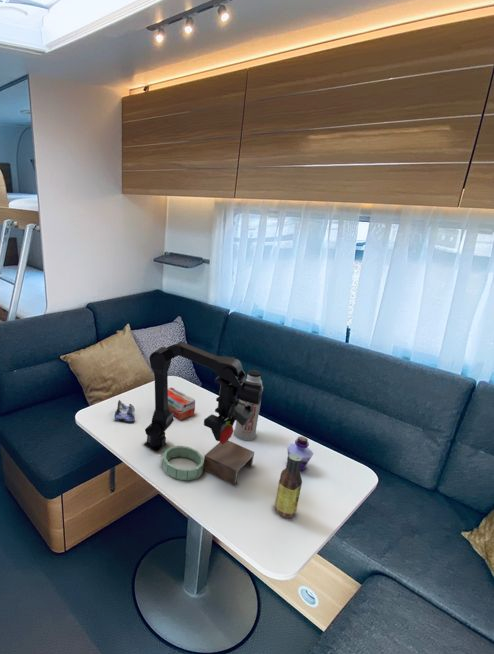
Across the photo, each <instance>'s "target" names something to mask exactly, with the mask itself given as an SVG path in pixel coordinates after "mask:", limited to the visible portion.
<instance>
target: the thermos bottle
mask: <svg viewBox="0 0 494 654" xmlns="http://www.w3.org/2000/svg"><path fill="white" fill-rule="evenodd" d="M246 376H247V380H246V381H249V382H254V383H260V384H262V391H264V385H263V380H262V379H261V376H262V372H260V371H259V370H255V369H249V370H247V374H246ZM239 402H241V403H244V404H245V406H247V405H249V404H250V405H251V406H253V416H252V417H251V418H250V420H249V421H248V422H247V423H246V424H245V425H241V424H239V422H237V421H236V420H235V427H234V435H235V437H237V438H238V439H241V440H244V441H252V440H254V439H255V438H256V432H257V427H258V420H259V416H260V409H261V403H262V400H261V401H260V403H259V405H257V404H253V403H249V402H246V401H242V400H241V399H239Z"/></svg>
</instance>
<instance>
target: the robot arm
mask: <svg viewBox="0 0 494 654" xmlns="http://www.w3.org/2000/svg"><path fill="white" fill-rule="evenodd" d="M178 356H179V357H182V358H183V359H187V360H189V361H191V362H194V363H197V364H199V365H201V366H203V367H206V368H207V369H210V370H212V371H213V372H214V373H215V374H216V378H215V379H214V381H213V382H214V383H216V384H220V386H219V391H218V392H219V394H218V397H216V399H215V401H216V402H218V403H217V407H216V408H215V409H214V413H217V414H218V416H217V415H215V414H209V415H208V416H207V417H205V418H204V419H203V426H204V427H207V428H208V429H210V430H211V432H212V434H213V436H214V439H215V441H216V442H220V441H219V440H220V437H221V433H222V431H223V430H224V429H225V428H227V427H226V422H229V424H231V425H232V426H233V427H234V425H235V423H236V421H237V422H239V424H241V425H245V424H246V423H247V422H248V421H249V420H250V418H251V417H252V416H253V406H251V405H250V404H249V405H247V406H245V404H244V403H241V402H239V400H240V399H241V400H242V401H246V402H249V403H253V404H257V405H259V403H260V401H261V402H262V397H263V391H264V390H263V391H262V386H263V383H262V384H260V383H254V382H249V381H246V380H247V374H246V373H245V371H244V369H243V364H242V363H241V361H240V360H239V359H237V358H235V357H230V356H221V355H220V356H219V355H216V354H214V353H211V352H208V351H206V350H203V349H200V348H198V347H195V346H193V345H191V344H188V343H186V342H185V341H182V340H180V341H178V342H176V343H174V344H171V345H169V346H167V347H165V346H160V347H159V348H157V349H156V350H154V351H153V352H152V353H151V354H150V355H149V364H150V369H151V371H152V372H153V375H154V408H155V409H154V411H153V413H152V418H151V422H150V423H149V425H148V426H146V427H145V429H144V431H145V435H146V441H145V442H144V444H143V445H144V446H145V447H147V448H149V449H151V450H153V451H155V452H159V451H160V450H162V449H163V448H165V447H166V446H167V445H168V443H167V437H166V431H167V429H169V427H170V426H172V424H173V422H174V421H175V419H174V416H173V414H174V412H173V411H170V410H169V408H168V388H169V384H168V383H169V382H168V381H169V379H168V376H169V375H168V373H169V369H170V367H171V363H172V359H174V358H176V357H178Z"/></svg>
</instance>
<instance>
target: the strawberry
mask: <svg viewBox="0 0 494 654" xmlns="http://www.w3.org/2000/svg"><path fill="white" fill-rule="evenodd" d="M226 427H227V428H225V429H224V430H223V431H222V433H221V437H220V440H219V441H218V442H220V443H221V444H224V443H225V442H226V441H230V439H231V438H232V435H233V432H234V425H233V426H232V425H231V424H229V422H226Z"/></svg>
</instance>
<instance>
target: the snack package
mask: <svg viewBox="0 0 494 654" xmlns="http://www.w3.org/2000/svg"><path fill="white" fill-rule="evenodd" d="M114 412H115V413H114V419H115V420H122V421H123V423H124V422H125V423H134V422H135V416H134V415H135V412H136V408H135V406H134V405H133V404H132V403H130V404H129V403H128V405H126V403H123V402H122V401H121V400H120V399H118V401H117V409H116V411H114Z"/></svg>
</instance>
